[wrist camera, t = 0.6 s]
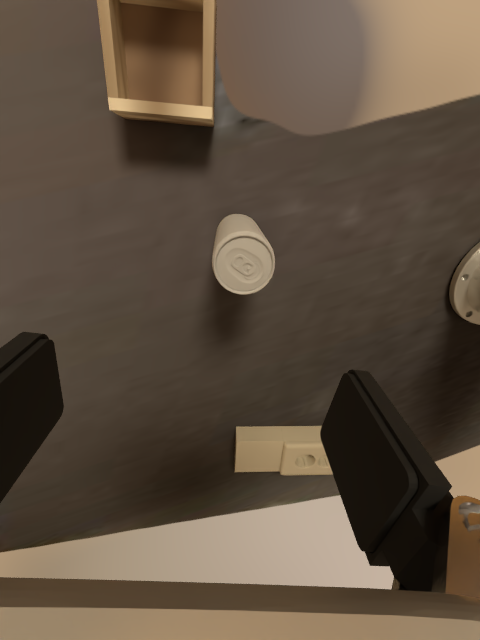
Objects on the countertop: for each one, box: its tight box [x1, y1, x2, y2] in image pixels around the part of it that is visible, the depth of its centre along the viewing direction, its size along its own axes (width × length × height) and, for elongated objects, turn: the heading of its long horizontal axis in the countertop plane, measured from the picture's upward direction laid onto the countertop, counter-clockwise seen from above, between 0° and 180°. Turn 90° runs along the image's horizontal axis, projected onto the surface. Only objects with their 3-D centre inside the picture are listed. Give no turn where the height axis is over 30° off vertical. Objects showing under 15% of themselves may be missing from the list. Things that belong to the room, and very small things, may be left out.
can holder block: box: [97, 0, 217, 127], centre depth 23 cm, size 8×8×4 cm
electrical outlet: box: [234, 426, 333, 475], centre depth 46 cm, size 7×4×18 cm
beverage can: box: [212, 214, 275, 295], centre depth 26 cm, size 5×5×12 cm
